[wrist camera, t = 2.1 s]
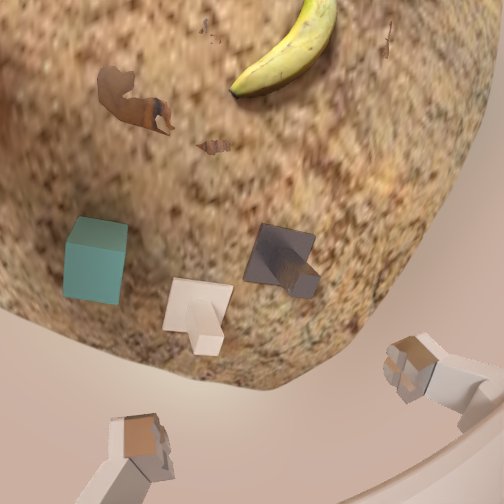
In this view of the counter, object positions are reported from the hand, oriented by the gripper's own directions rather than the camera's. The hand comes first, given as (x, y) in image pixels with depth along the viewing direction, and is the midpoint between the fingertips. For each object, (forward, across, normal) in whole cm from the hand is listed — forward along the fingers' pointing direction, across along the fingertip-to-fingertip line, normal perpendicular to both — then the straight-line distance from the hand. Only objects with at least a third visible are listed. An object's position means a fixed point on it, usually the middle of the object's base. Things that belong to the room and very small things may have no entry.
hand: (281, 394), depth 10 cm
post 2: (+26, -8, +9) cm, 29 cm away
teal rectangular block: (+25, +11, +2) cm, 27 cm away
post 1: (+26, +2, +13) cm, 29 cm away
